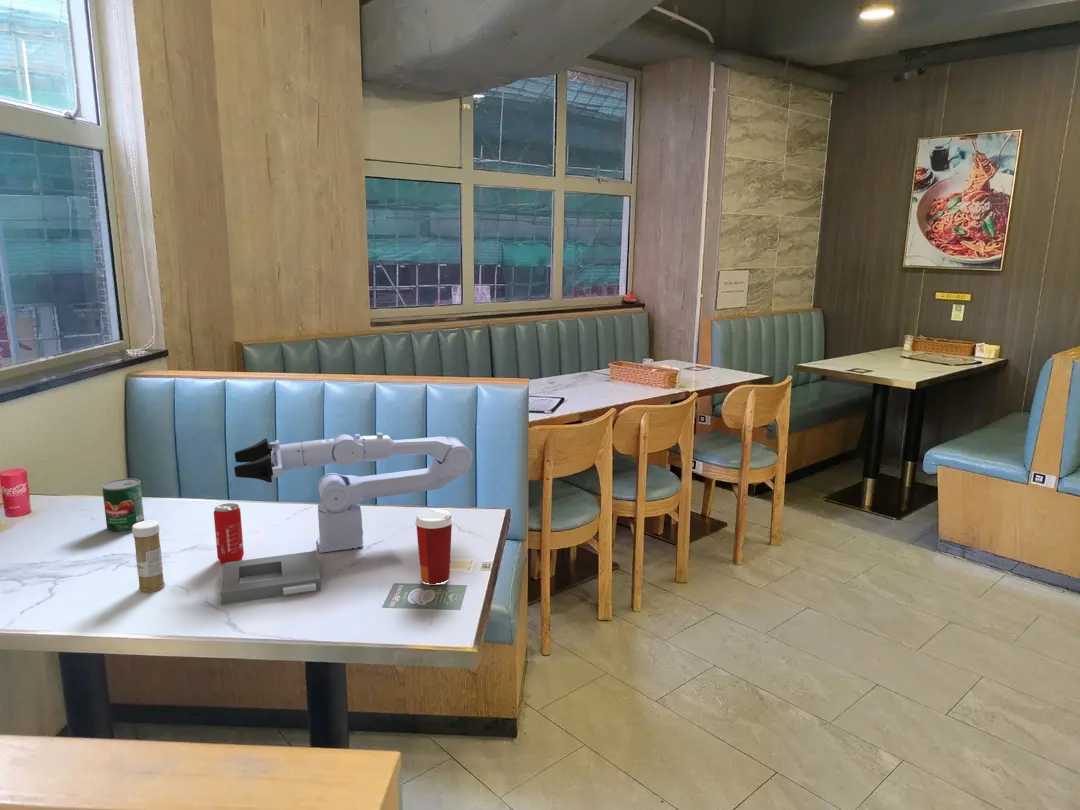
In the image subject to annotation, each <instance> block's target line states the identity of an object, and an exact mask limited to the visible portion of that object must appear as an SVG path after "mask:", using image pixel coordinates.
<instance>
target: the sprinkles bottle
mask: <svg viewBox="0 0 1080 810" xmlns="http://www.w3.org/2000/svg"><path fill="white" fill-rule="evenodd" d="M131 533H132V536H133V538H134V546H135V558H136V559H135V560H136V570H137V575H138V576H137V577H138V583H139V584H138V585H139V586H138V590H139V591H140V592H142V593H153V592H157V591H159V590H161V589H163V588H164V587H165V585H166V584H165V582H164V567H163V559H162V558H163V557H162V547H161V543H160V542H161V541H160V523H159V522H158V521H157V520H153V519H152V520H151V519H149V520H148V519H147V520H144V521H141V522H138V523H136V524H134V525H133V526H132V532H131Z"/></svg>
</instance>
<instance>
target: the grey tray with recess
mask: <svg viewBox="0 0 1080 810" xmlns="http://www.w3.org/2000/svg"><path fill="white" fill-rule="evenodd" d="M222 565H223V567H222V576H221V583H220V584H221V585H220V593H219V594H220V602H221V603H220V605H221V606H225V605H232V604H238V603H246V602H252V601H258V600H265V599H270V598H278V597H286V596H291V595H298V594H306V593H312V592H319V591H320V592H321V591H322V582H321V581H322V578H321V573H320V568H319V562H318V556H317V552H316V550H312V551H303V552H298V553H289V554H281V555H273V556H267V557H258V558H251V559H250V558H249V559H242V560H241V561H234V562H226V563H224V564H222ZM279 573H281V577H275V578H274V577H273V578H268V579H262V580H261V579H260V580H254V581H246V582H241V579H244V578H250V577H257V576H264V575H273V574H279Z"/></svg>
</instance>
